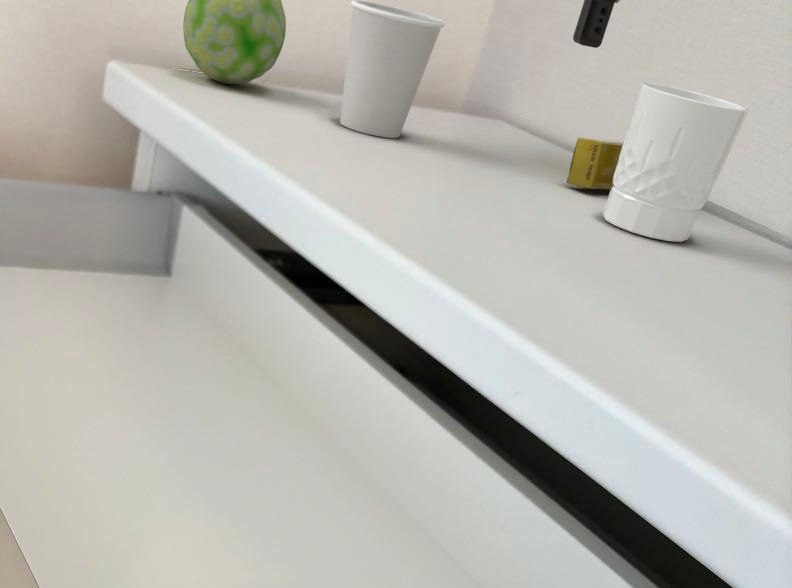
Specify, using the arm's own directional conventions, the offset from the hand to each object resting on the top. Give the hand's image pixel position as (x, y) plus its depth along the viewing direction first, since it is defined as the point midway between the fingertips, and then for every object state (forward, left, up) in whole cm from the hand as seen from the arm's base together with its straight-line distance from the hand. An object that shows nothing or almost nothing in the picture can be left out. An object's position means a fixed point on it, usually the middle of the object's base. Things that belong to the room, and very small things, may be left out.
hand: (585, 44), depth 100 cm
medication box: (-3, +9, -11) cm, 14 cm away
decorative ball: (+30, -11, -11) cm, 34 cm away
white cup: (+1, +22, -11) cm, 24 cm away
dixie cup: (+18, 0, -11) cm, 21 cm away
